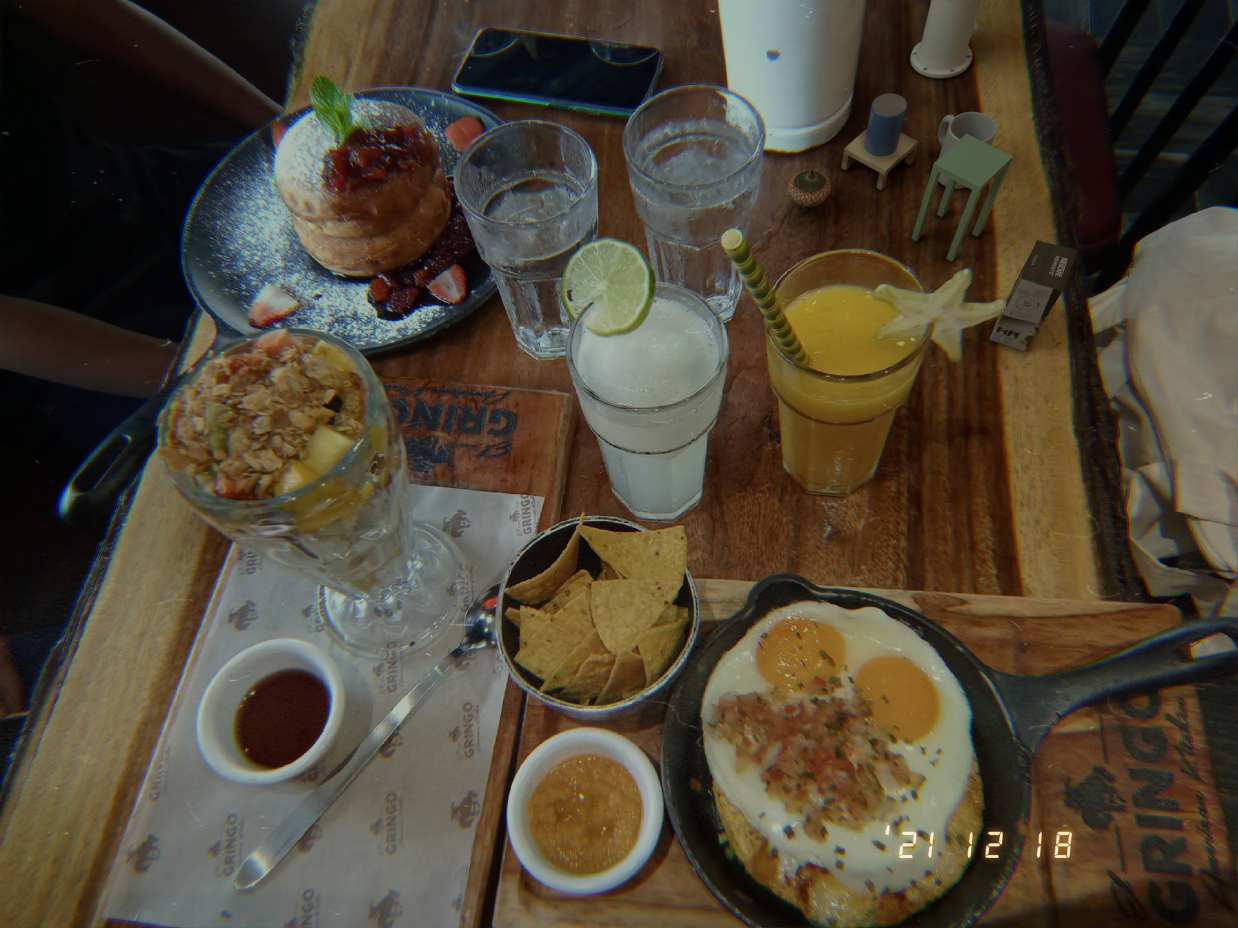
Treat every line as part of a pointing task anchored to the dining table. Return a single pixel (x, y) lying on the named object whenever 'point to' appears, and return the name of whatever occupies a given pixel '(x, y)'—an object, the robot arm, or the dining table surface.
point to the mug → (964, 133)
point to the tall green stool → (965, 184)
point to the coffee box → (1034, 294)
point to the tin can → (885, 124)
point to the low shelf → (879, 162)
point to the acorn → (809, 188)
